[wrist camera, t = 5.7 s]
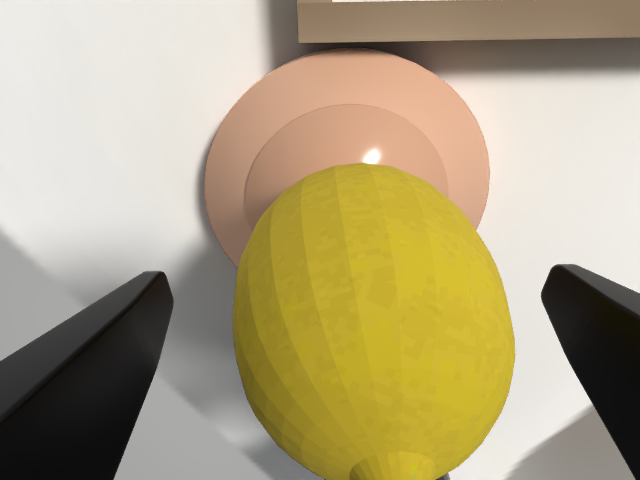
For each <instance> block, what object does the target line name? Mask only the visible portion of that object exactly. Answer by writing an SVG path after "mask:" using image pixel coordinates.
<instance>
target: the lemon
mask: <svg viewBox="0 0 640 480" xmlns="http://www.w3.org/2000/svg"><path fill="white" fill-rule="evenodd" d="M233 338H234V348H235V354H236V360H237V364H238V368H239V372H240V376H241V380H242V383H243V387H244V390H245V394H246V397H247V400H248V402H249V404H250V406H251V408H252V410H253V412H254V414H255V416H256V417H257V418H258V420H259V421H260V422H261V424H262V425H263V427H264V428H265V429H266V431H267V432H268V433H269V435H270V436H271V437H272V438H273V440H274V441H275V442H276V444H277V445H278V446H279V447H280V448H282V449H283V450H284V451H285V452H286V453H287V454H288V455H289V456H291V457H292V458H293V459H294V460H296V461H297V462H298V463H300V464H301V465H302V466H304V467H305V468H307V469H308V470H310V471H312V472H313V473H315V474H316V475H318V476H320V477H322V478H324V479H326V480H436V479H438V478H439V477H441V476H443V475H445V474H446V473H448V472H450V471H451V470H453V469H455V468H456V467H458V466H459V465H460V464H461V463H463V462H464V461H465V460H466V459H467V458H468V457H469V456H470V455H471V454H472V453H473V452H474V451H475V450H476V449H477V448H478V447H479V446H480V445H481V444H482V442H483V441H484V439H485V438H486V436H487V434H488V433H489V431H490V430H491V428H492V427H493V425H494V423H495V422H496V420H497V419H498V417H499V415H500V414H501V412H502V409H503V407H504V404H505V402H506V399H507V396H508V393H509V388H510V384H511V379H512V374H513V367H514V361H515V342H514V334H513V328H512V323H511V318H510V313H509V308H508V303H507V298H506V294H505V291H504V287H503V284H502V280H501V277H500V275H499V272H498V269H497V267H496V264H495V262H494V260H493V258H492V256H491V254H490V252H489V251H488V249H487V247H486V246H485V244H484V243H483V241H482V239H481V238H480V236H479V235H478V233H477V232H476V230H475V229H474V227H473V225H472V224H471V222H470V221H469V219H468V218H467V217H466V215H465V214H464V213H463V212H462V211H461V209H460V208H458V207H457V206H456V205H455V204H454V203H453V202H452V201H451V200H449V199H448V198H447V197H446V196H444V195H443V194H442V193H441V192H440V191H438V190H437V189H436V188H435V187H433V186H432V185H431V184H429V183H428V182H427V181H425V180H423V179H421V178H419V177H416V176H414V175H411V174H409V173H406V172H404V171H402V170H399V169H397V168H394V167H392V166H384V165H377V164H369V163H355V164H345V165H335V166H332V167H329V168H327V169H324V170H321V171H318V172H315V173H313V174H310V175H307V176H306V177H304V178H303V179H301V180H300V181H298V182H297V183H295V184H294V185H292V186H291V187H289V188H288V189H286V190H285V191H284V192H283V193H282V194H281V195H280V196H279V197H278V198H277V199H276V200H275V201H274V202H273V204H272V205H271V206H270V207H269V208H268V209H267V210H266V211H265V213H264V214H263V215H262V216H261V218H260V219H259V221H258V222H257V224H256V226H255V228H254V231H253V233H252V235H251V237H250V239H249V241H248V243H247V246H246V248H245V250H244V252H243V254H242V257H241V260H240V263H239V267H238V272H237V278H236V287H235V297H234V307H233Z"/></svg>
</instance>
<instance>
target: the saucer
mask: <svg viewBox="0 0 640 480" xmlns="http://www.w3.org/2000/svg"><path fill="white" fill-rule="evenodd" d="M355 163H369V164H377V165H384V166H392V167H394V168H397V169H399V170H402V171H404V172H406V173H409V174H411V175H414V176H416V177H419V178H421V179H423V180H425V181H427V182H428V183H429V184H431V185H432V186H433V187H435V188H436V189H437V190H438V191H440V192H441V193H442V194H443V195H444V196H446V197H447V198H448V199H449V200H451V201H452V202H453V203H454V204H455V205H456V206H457V207H458V208H460V209H461V211H462V212H463V213H464V214H465V215H466V217H467V218H468V219H469V221H470V222H471V224H472V225H473V227H474V229H475V230H476V229H477V227H478V225H479V223H480V221H481V218H482V215H483V212H484V209H485V206H486V202H487V197H488V191H489V179H490V168H489V158H488V152H487V148H486V144H485V140H484V136H483V134H482V132H481V129H480V127H479V125H478V122H477V120H476V118H475V117H474V115H473V114H472V112H471V110H470V109H469V107H468V106H467V104H466V103H465V102H464V100H463V99H462V98H461V97H460V96H459V95H458V94H457V93H456V92H455V90H454V89H453V88H452V87H451V86H449V85H448V84H447V83H446V82H444V81H443V80H442V79H441V78H439V77H438V76H437V75H435V74H434V73H432V72H430V71H428V70H427V69H425V68H423V67H421V66H420V65H418V64H416V63H414V62H412V61H410V60H408V59H405V58H402V57H400V56H397V55H394V54H392V53H388V52H383V51H378V50H374V49H366V48H349V47H348V48H337V49H327V50H322V51H318V52H314V53H310V54H306V55H303V56H301V57H298V58H296V59H293V60H291V61H289V62H286V63H284V64H283V65H281V66H279V67H278V68H276V69H274V70H272V71H271V72H269V73H267V74H266V75H265V76H264V77H262V78H261V79H260V80H259V81H257V82H256V83H255V84H254V85H252V86H251V87H250V89H249V90H248V91H247V92H246V93H245V94H244V95H243V96H242V97H241V98H240V99H239V100H238V101H237V103H236V104H235V105H234V106H233V107H232V109H231V110H230V112H229V113H228V115H227V116H226V117H225V119H224V120H223V122H222V123H221V125H220V127H219V129H218V131H217V133H216V136H215V138H214V140H213V142H212V145H211V149H210V152H209V155H208V158H207V164H206V170H205V183H204V194H205V202H206V209H207V213H208V217H209V220H210V224H211V227H212V229H213V231H214V233H215V236H216V238H217V240H218V242H219V244H220V245H221V247H222V249H223V250H224V252H225V253H226V255H227V256H228V257H229V259H230V260H231V261H232V262H233V264H234V265H235V266H236V267H237V268H238V267H239V263H240V260H241V257H242V254H243V252H244V250H245V248H246V246H247V243H248V241H249V239H250V237H251V235H252V233H253V231H254V228H255V226H256V224H257V222H258V221H259V219H260V218H261V216H262V215H263V214H264V213H265V211H266V210H267V209H268V208H269V207H270V206H271V205H272V204H273V202H274V201H275V200H276V199H277V198H278V197H279V196H280V195H281V194H282V193H283V192H284V191H285V190H286V189H288V188H289V187H291V186H292V185H294V184H295V183H297V182H298V181H300V180H301V179H303V178H304V177H306V176H307V175H310V174H313V173H315V172H318V171H321V170H324V169H327V168H329V167H332V166H335V165H345V164H355Z"/></svg>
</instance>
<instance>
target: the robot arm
mask: <svg viewBox="0 0 640 480" xmlns="http://www.w3.org/2000/svg"><path fill="white" fill-rule="evenodd" d="M541 299H542V303H543V305H544V307H545V310H546V312H547V314H548V316H549V319H550V321H551V323H552V326H553V328H554V330H555V332H556V335H557V337H558V339H559V342H560V344H561V346H562V348H563V351H564V353H565V355H566V357H567V359H568V361H569V363H570V365H571V367H572V368H573V370H574V372H575V374H576V376H577V377H578V379H579V381H580V383H581V384H582V386H583V388H584V390H585V391H586V393H587V395H588V397H589V398H590V400H591V402H592V404H593V406H594V407H595V409H596V410H597V413H598V414H599V416H600V418H601V420H602V421H603V423H604V425H605V427H606V428H607V430H608V432H609V434H610V435H611V437H612V439H613V441H614V442H615V444H616V446H617V447H618V449H619V451H620V453H621V455H622V457H623V458H624V460H625V462H626V464H627V465H628V467H629V469H630V471H631V472H632V474H633V476H634V478H635V479H636V480H640V293H637V292H635V291H633V290H631V289H629V288H626V287H624V286H622V285H620V284H617V283H615V282H613V281H611V280H609V279H606V278H604V277H602V276H600V275H598V274H595V273H593V272H591V271H589V270H586V269H584V268H582V267H580V266H578V265H575V264H557V265H554V266H553V267H552V268H551V270H550V272H549V275H548V277H547V280H546V282H545V284H544V287H543V289H542V292H541ZM173 304H174V301H173V296H172V293H171V290H170V286H169V283H168V280H167V277H166V275H165V273H164V272H162V271H146V272H143V273H141V274H140V275H138V276H136V277H135V278H133V279H132V280H130V281H128V282H127V283H125V284H124V285H122V286H120V287H119V288H117V289H116V290H114V291H112V292H111V293H109V294H108V295H106V296H104V297H103V298H101V299H100V300H98V301H96V302H95V303H93V304H91V305H90V306H88V307H87V308H85V309H83V310H82V311H80V312H79V313H77V314H76V315H74V316H72V317H71V318H69V319H67V320H66V321H64V322H63V323H61V324H60V325H58V326H56V327H55V328H53V329H51V330H50V331H48V332H47V333H45V334H43V335H42V336H40V337H39V338H37V339H35V340H34V341H32V342H30V343H29V344H27V345H26V346H24V347H22V348H21V349H19V350H18V351H16V352H14V353H13V354H11V355H10V356H8V357H7V358H5V359H3V360H2V361H0V480H113V479H114V477H115V474H116V472H117V469H118V467H119V464H120V462H121V459H122V456H123V454H124V451H125V449H126V446H127V444H128V441H129V438H130V436H131V433H132V431H133V428H134V426H135V423H136V420H137V418H138V415H139V413H140V410H141V408H142V405H143V402H144V400H145V397H146V395H147V392H148V389H149V387H150V385H151V382H152V379H153V377H154V374H155V371H156V369H157V366H158V362H159V359H160V355H161V352H162V348H163V344H164V340H165V336H166V333H167V329H168V325H169V321H170V317H171V314H172V310H173ZM324 480H326V479H324ZM436 480H450V478H449V474H448V473H446V474H445V475H443V476H441V477H439V478H438V479H436Z"/></svg>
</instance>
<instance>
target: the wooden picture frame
mask: <svg viewBox="0 0 640 480" xmlns="http://www.w3.org/2000/svg"><path fill="white" fill-rule="evenodd" d="M297 18H298V42H299V43H331V42H391V41H451V40H511V39H572V38H632V37H640V0H451V1H391V2H332V0H297Z"/></svg>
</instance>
